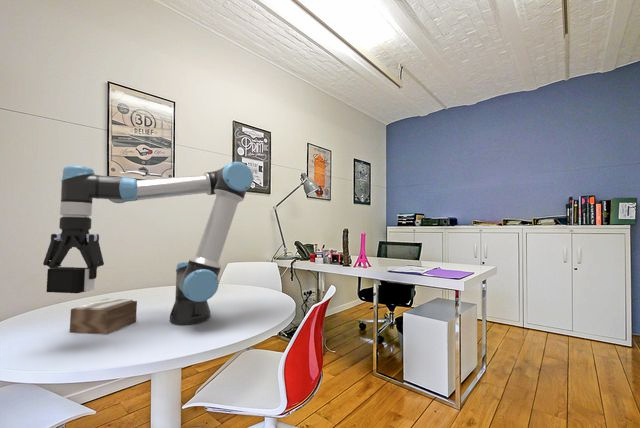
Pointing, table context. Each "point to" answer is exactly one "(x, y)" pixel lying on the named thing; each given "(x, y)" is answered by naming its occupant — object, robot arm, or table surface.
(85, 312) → the walnut stand
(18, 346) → the table surface
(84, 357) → the table surface
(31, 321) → the table surface
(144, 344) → the table surface
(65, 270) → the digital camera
